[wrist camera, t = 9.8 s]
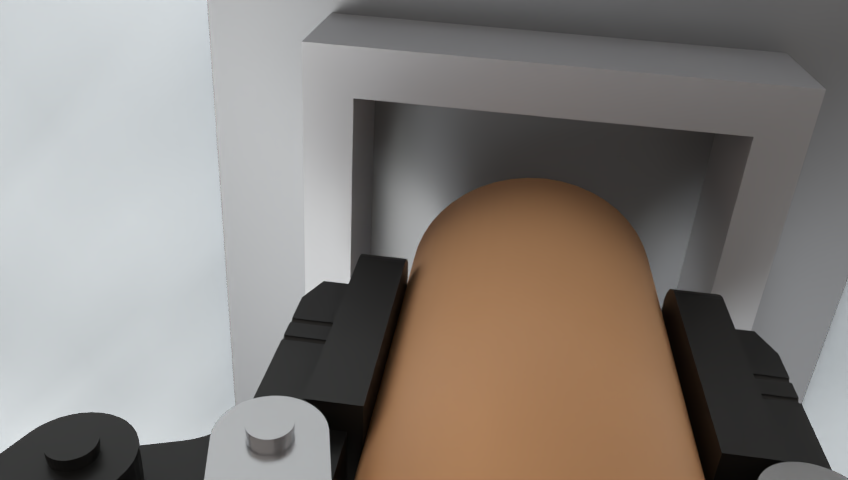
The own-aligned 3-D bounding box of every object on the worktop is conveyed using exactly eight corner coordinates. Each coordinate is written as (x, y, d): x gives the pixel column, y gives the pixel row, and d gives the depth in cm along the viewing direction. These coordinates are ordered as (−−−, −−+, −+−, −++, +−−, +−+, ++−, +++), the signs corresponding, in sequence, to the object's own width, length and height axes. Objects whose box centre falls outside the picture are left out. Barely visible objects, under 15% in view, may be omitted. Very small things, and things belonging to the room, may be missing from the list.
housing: (223, -67, 14) (152, -41, 11) (921, -10, 13) (1018, 32, 11) (262, 599, 23) (226, 701, 20) (687, 662, 22) (708, 778, 19)
